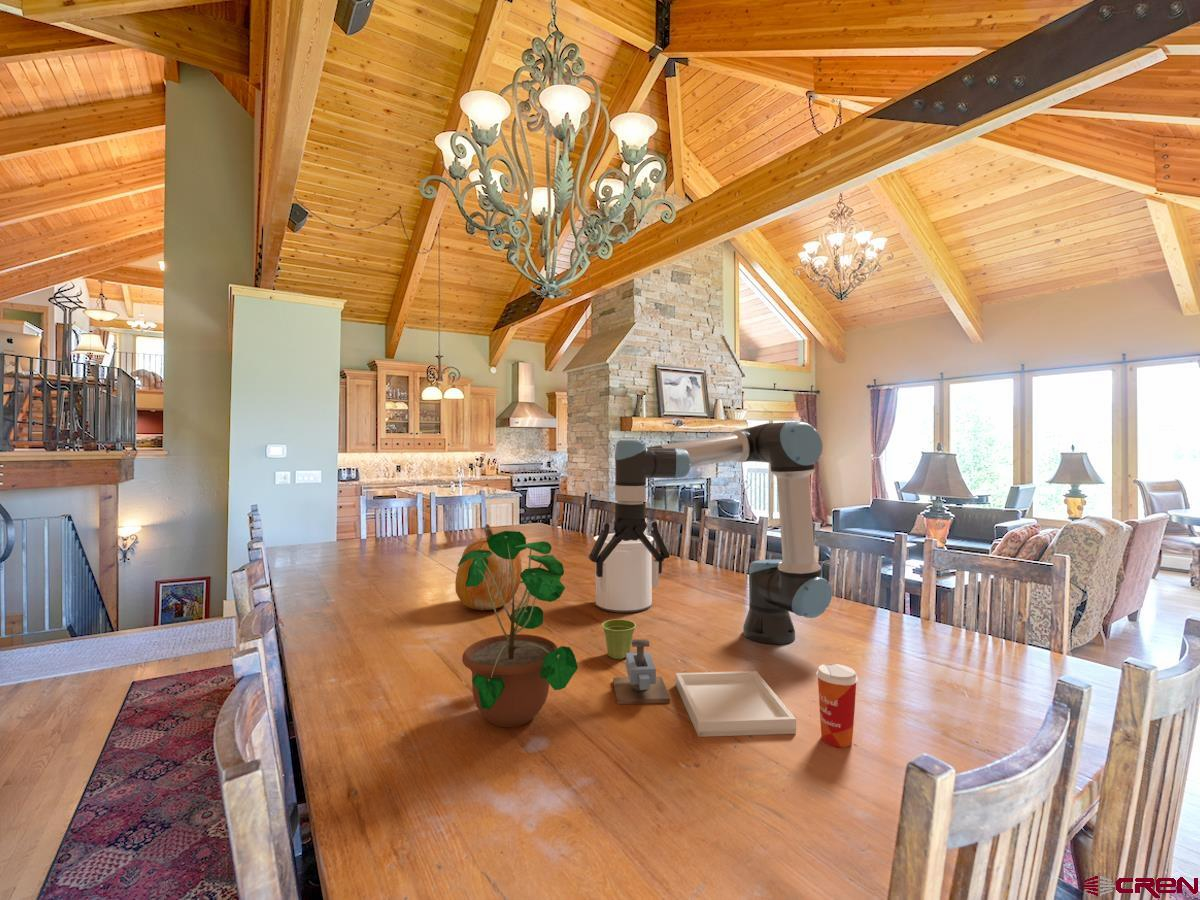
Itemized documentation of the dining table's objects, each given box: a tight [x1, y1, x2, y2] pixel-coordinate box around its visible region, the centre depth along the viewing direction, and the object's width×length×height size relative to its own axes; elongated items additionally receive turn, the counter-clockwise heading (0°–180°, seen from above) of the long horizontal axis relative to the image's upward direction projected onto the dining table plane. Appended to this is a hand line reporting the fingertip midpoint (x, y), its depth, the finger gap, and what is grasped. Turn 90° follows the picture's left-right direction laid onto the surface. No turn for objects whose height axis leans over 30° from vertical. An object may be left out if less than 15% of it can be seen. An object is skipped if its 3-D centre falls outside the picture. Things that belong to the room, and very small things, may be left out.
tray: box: [675, 670, 797, 738], centre depth 126 cm, size 20×24×3 cm
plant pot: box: [601, 618, 637, 660], centre depth 157 cm, size 9×9×9 cm
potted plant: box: [457, 530, 579, 728], centre depth 123 cm, size 31×29×40 cm
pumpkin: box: [455, 524, 523, 611], centre depth 204 cm, size 26×23×30 cm
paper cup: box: [815, 663, 859, 749], centre depth 112 cm, size 8×8×14 cm
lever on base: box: [612, 638, 671, 705], centre depth 134 cm, size 12×12×12 cm
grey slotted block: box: [625, 652, 657, 690], centre depth 132 cm, size 13×6×3 cm, turn 3°
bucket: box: [593, 532, 654, 614], centre depth 205 cm, size 26×22×24 cm
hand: (629, 588), depth 140 cm, fingers open, 13 cm apart
